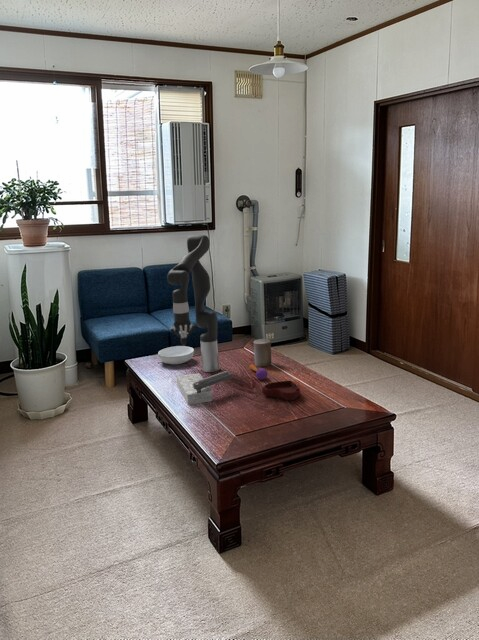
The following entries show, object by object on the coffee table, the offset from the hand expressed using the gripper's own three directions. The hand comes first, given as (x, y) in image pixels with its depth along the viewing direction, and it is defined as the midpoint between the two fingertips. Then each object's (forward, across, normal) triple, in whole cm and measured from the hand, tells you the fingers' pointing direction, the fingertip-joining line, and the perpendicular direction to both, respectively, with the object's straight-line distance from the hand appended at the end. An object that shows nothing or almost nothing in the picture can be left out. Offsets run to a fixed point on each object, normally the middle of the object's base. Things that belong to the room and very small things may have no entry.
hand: (184, 344), depth 277 cm
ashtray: (+25, -41, +27) cm, 55 cm away
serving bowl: (+25, -4, -47) cm, 54 cm away
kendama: (+25, -40, -5) cm, 47 cm away
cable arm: (+17, -10, +14) cm, 24 cm away
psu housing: (+24, -2, +6) cm, 25 cm away
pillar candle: (+26, -48, -21) cm, 59 cm away
